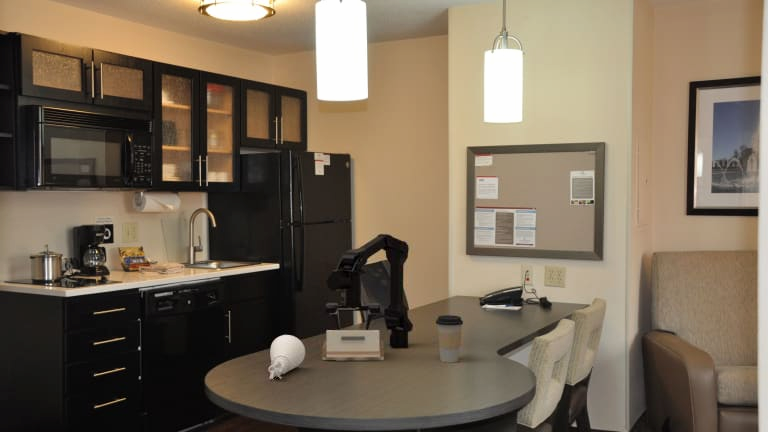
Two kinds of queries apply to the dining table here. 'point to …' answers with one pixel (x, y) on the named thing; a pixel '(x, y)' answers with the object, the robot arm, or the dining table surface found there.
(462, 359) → the dining table surface
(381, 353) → the tray
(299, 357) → the rocket engine
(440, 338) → the coffee cup
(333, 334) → the panel
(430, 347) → the dining table surface
